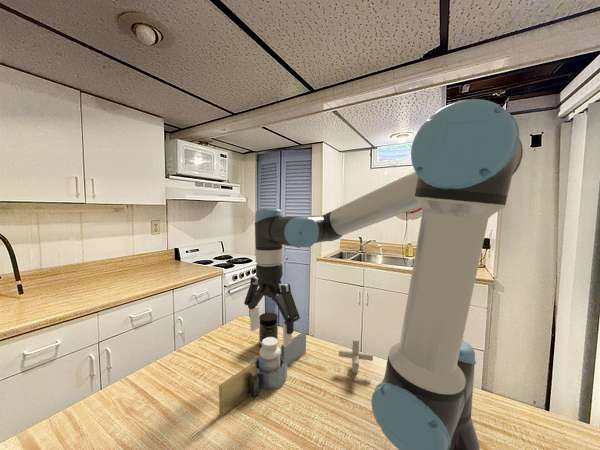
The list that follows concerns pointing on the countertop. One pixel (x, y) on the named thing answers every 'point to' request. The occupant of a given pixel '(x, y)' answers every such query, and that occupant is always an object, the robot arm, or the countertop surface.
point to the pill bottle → (269, 355)
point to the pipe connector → (355, 355)
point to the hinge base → (279, 376)
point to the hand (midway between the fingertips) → (270, 336)
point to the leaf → (235, 388)
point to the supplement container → (268, 326)
